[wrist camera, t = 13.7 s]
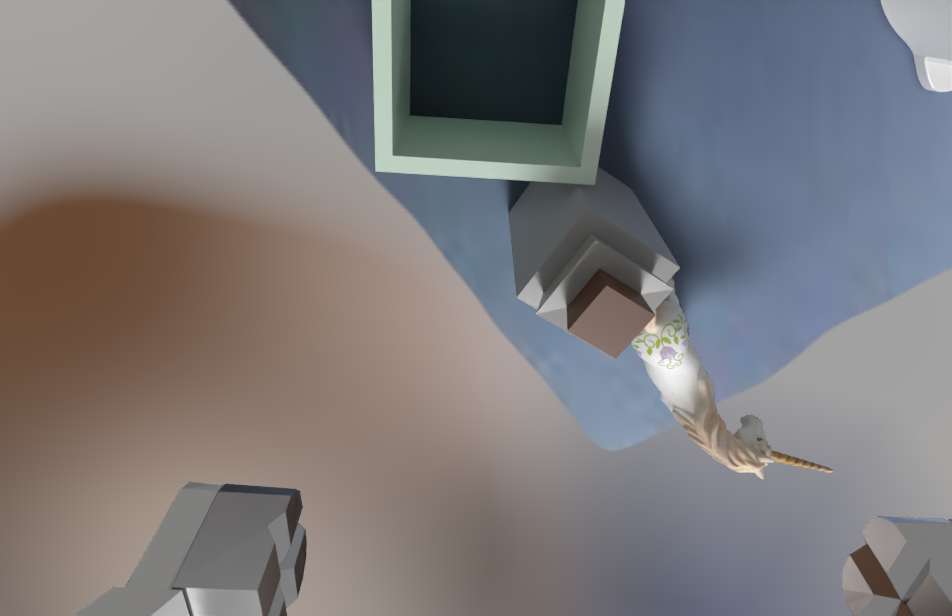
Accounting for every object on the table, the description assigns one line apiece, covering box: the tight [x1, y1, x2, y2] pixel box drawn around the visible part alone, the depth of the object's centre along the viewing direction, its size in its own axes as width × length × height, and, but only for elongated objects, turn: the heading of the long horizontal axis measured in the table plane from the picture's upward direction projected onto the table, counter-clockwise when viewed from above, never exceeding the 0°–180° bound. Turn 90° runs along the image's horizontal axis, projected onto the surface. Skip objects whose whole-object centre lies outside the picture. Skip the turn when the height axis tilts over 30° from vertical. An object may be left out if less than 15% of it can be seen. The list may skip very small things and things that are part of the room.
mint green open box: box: [372, 0, 625, 185], centre depth 37 cm, size 13×13×10 cm
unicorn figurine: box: [631, 277, 833, 479], centre depth 47 cm, size 7×20×13 cm, turn 45°
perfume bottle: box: [509, 166, 680, 359], centre depth 40 cm, size 7×7×18 cm
